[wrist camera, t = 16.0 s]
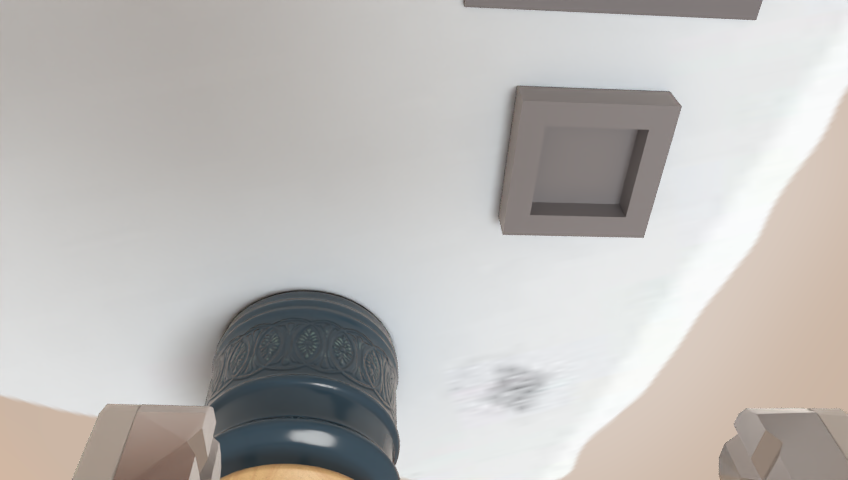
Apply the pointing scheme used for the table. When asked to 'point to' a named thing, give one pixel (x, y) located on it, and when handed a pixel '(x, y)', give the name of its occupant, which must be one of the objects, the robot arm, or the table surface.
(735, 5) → the port
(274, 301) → the canister
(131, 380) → the table surface
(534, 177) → the grey square tray
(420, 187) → the table surface
